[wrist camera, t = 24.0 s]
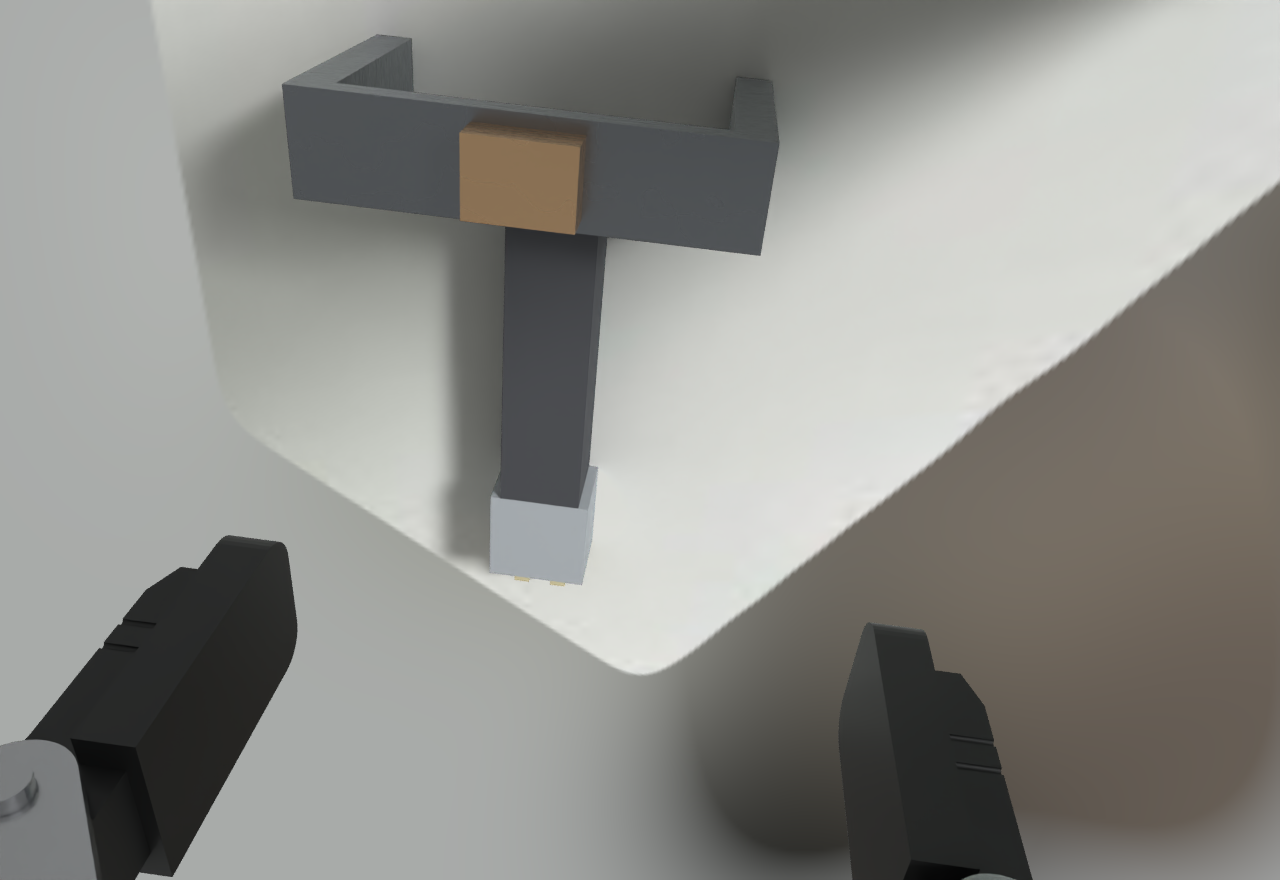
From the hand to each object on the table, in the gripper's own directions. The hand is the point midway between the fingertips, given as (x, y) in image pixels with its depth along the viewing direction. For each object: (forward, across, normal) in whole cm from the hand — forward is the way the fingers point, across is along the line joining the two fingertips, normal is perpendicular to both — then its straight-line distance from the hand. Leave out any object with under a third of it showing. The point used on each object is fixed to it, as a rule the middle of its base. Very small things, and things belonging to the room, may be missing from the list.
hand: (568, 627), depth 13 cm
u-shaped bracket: (+33, +5, +1) cm, 33 cm away
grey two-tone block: (+33, +5, +15) cm, 37 cm away
